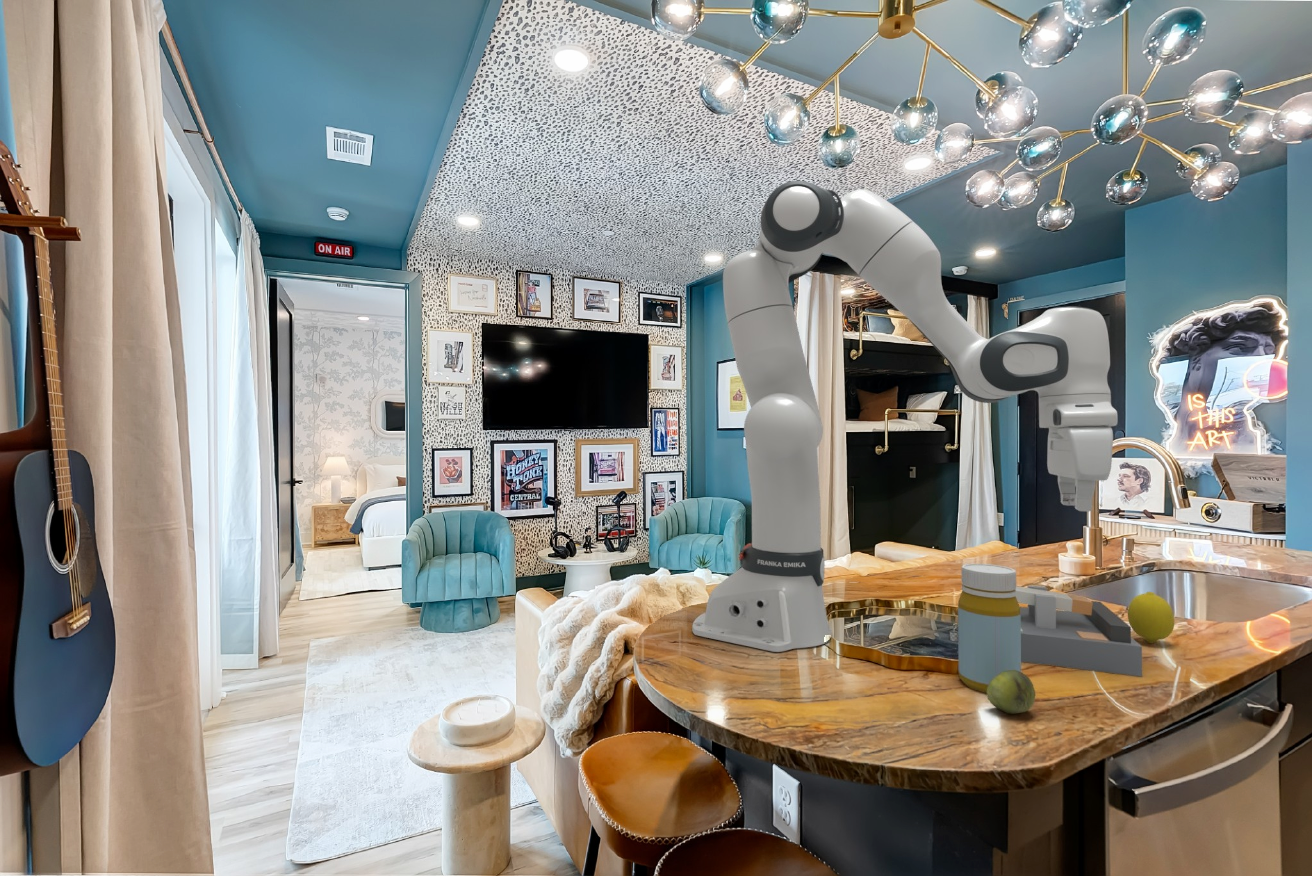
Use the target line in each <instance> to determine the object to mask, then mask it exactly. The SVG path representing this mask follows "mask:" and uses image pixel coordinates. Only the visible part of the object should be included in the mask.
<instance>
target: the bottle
mask: <svg viewBox="0 0 1312 876" xmlns="http://www.w3.org/2000/svg"><path fill="white" fill-rule="evenodd" d="M960 570H961V576H960V577H961V578H960V579H961V590H962V591H961V593H960V596H959V598H958V605H957V621H958V623H957V625H958V626H957V629H958V631H957V634H958V635H957V637H958V644H957V645H958V677H959V678H960V680H961V681H962V682H963V684H965V685H966V686H967V687H968V688H970V689H972V690H975V691H979V692H982V693H985V694H987V693H986V691H987V687H988V685H989V683H990V681H991V680H992V679H993V678H994V677H996V676H997V675H999V674H1000V673H1001V672H1003V671H1008V670H1017V671H1020V672H1022V662H1021V613H1020V607H1021V606H1020V605H1019V604H1020V603H1018V601H1017V598H1016V586H1017V572H1016V569H1014V568H1011V567H1008V566H1003V565H997V564H988V563H967V564H963V565H962V566H961V569H960Z"/></svg>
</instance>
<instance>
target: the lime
mask: <svg viewBox="0 0 1312 876" xmlns="http://www.w3.org/2000/svg"><path fill="white" fill-rule="evenodd" d="M985 694H986V696H987V700H988V701H989V703H990V704H992V706H993V707H995V708H997V709H999V710H1000V711H1002V712H1005V713H1007V714H1012V715H1014V714H1020V713H1026V712H1027V711H1029V710H1030V709H1031V708H1032V707H1033V705H1034V702H1035V699H1036V696H1037V695H1036V690H1035V688H1034V684H1033V682H1032V681H1031V678H1030V677H1029V676H1027V674H1025V673H1023V672H1022V671H1021V672H1020V671H1017V670H1008V671H1003V672H1001V673H1000V674H999V675H997V676H996V677H994V678H993V679H992V680H991V681H990V683H989V685H988V687H987V691H986V693H985Z"/></svg>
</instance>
